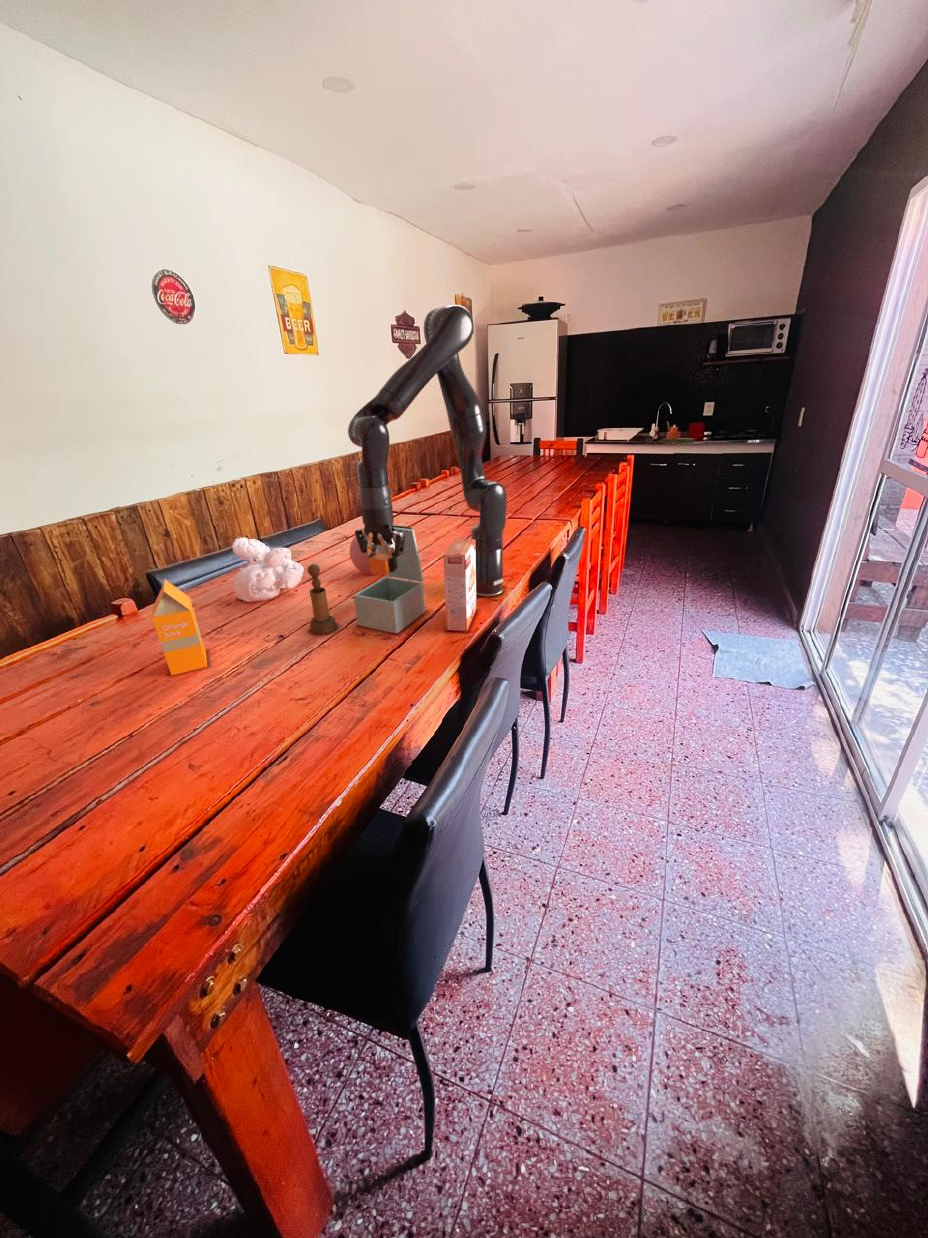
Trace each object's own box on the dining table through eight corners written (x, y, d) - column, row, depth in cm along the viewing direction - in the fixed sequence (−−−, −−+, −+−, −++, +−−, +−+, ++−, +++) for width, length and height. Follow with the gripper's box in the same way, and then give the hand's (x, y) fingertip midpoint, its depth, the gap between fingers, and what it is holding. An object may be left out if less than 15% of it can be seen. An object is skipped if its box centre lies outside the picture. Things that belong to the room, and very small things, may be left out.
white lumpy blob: (205, 576, 145) (244, 526, 154) (245, 613, 161) (278, 566, 170) (251, 588, 138) (289, 535, 146) (288, 626, 154) (321, 576, 162)
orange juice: (170, 675, 113) (143, 595, 104) (171, 658, 120) (145, 582, 111) (208, 666, 116) (184, 587, 107) (206, 650, 123) (184, 575, 114)
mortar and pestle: (341, 625, 133) (331, 562, 125) (326, 636, 128) (314, 570, 120) (322, 621, 136) (311, 559, 128) (306, 631, 130) (293, 567, 123)
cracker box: (468, 632, 127) (466, 555, 118) (445, 631, 128) (441, 554, 119) (478, 610, 139) (476, 538, 130) (457, 608, 140) (454, 537, 131)
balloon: (402, 560, 180) (398, 519, 173) (395, 580, 162) (390, 535, 155) (359, 562, 180) (354, 520, 173) (348, 582, 162) (341, 537, 155)
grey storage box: (396, 633, 128) (393, 602, 124) (357, 625, 133) (353, 595, 129) (425, 611, 139) (423, 582, 135) (388, 604, 145) (385, 576, 141)
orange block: (381, 566, 130) (379, 552, 128) (397, 569, 128) (396, 554, 126) (370, 573, 126) (368, 558, 124) (386, 575, 124) (385, 560, 122)
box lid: (412, 530, 126) (421, 522, 129) (372, 526, 131) (382, 518, 135) (422, 581, 135) (431, 572, 138) (384, 575, 140) (393, 567, 144)
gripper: (409, 502, 120) (415, 568, 127) (361, 498, 125) (369, 562, 133) (392, 509, 114) (399, 578, 121) (342, 505, 119) (352, 571, 127)
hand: (383, 569), depth 127 cm, fingers closed on orange block, 5 cm apart
